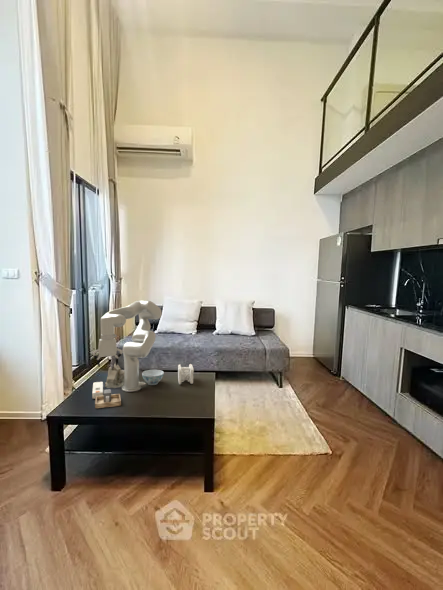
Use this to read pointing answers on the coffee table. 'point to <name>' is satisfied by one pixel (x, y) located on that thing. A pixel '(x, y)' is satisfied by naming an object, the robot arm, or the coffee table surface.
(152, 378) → the chinaware
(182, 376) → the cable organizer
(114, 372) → the ceramic cottage
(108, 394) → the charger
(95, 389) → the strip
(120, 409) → the coffee table surface
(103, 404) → the tray
